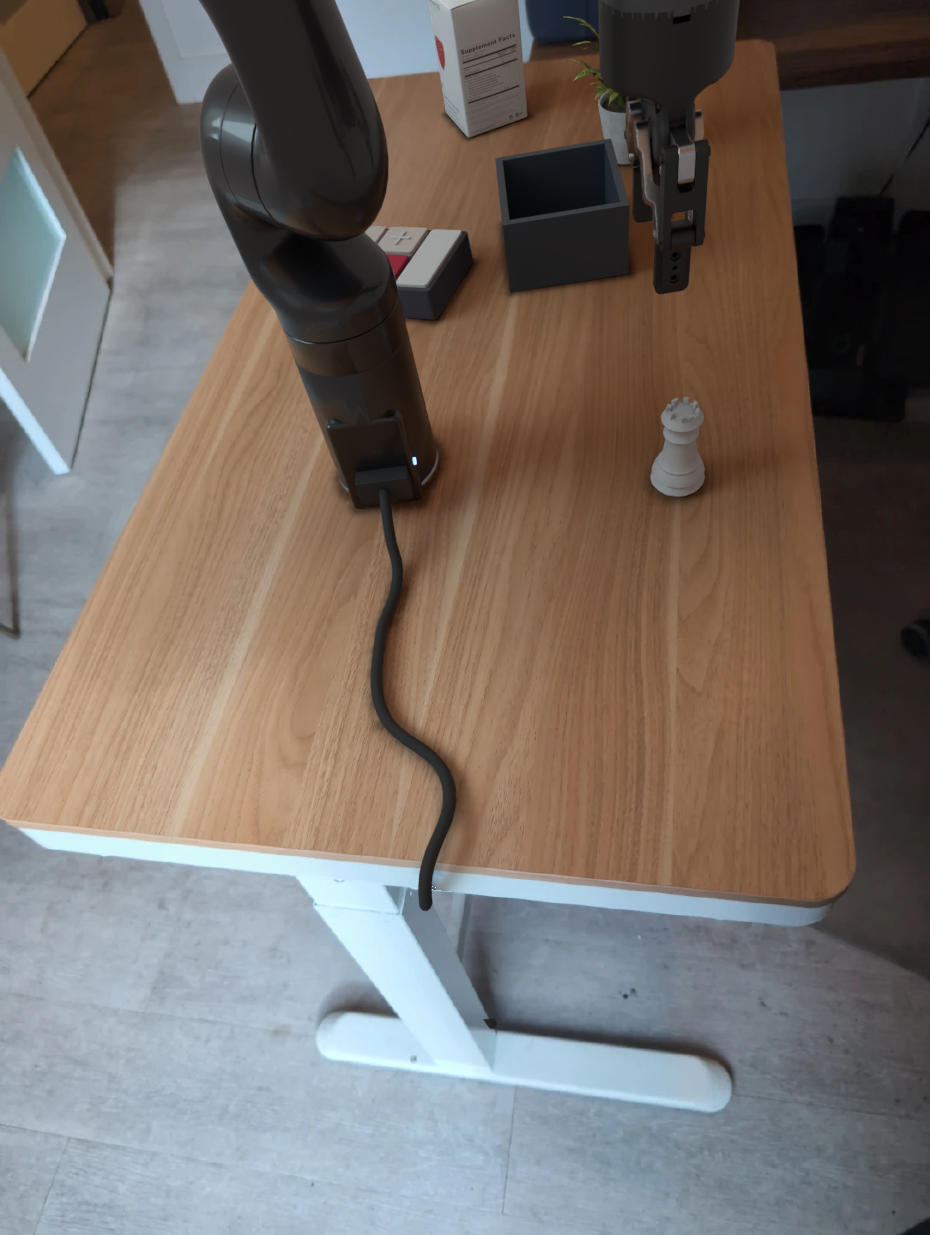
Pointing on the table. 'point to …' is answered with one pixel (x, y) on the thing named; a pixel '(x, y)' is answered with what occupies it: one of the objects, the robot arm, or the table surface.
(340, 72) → the robot arm
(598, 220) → the bin
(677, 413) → the rook chess piece
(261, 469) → the table surface
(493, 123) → the white product box
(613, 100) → the house plant
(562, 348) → the table surface
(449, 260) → the calculator
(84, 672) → the table surface
